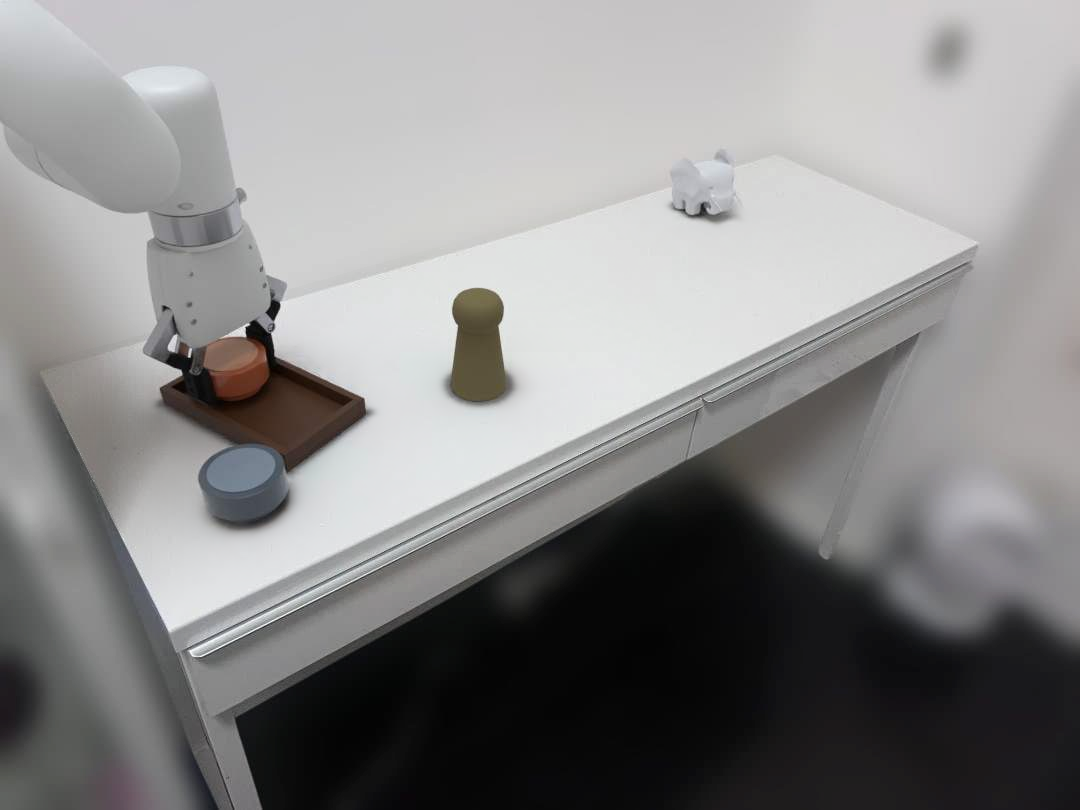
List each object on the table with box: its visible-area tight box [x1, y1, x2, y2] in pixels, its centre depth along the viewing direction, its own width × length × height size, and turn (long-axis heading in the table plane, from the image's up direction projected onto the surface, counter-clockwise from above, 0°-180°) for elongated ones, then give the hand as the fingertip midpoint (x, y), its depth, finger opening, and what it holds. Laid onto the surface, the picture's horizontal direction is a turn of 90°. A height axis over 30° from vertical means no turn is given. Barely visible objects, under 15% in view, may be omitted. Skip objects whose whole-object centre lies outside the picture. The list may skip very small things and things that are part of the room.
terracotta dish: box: [203, 336, 270, 401], centre depth 81 cm, size 7×7×4 cm
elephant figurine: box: [668, 146, 743, 216], centre depth 122 cm, size 10×12×9 cm
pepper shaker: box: [449, 287, 507, 403], centre depth 83 cm, size 6×6×11 cm
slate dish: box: [197, 444, 289, 524], centre depth 70 cm, size 7×7×4 cm
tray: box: [158, 356, 367, 472], centre depth 81 cm, size 11×18×2 cm, turn 57°
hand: (234, 379), depth 82 cm, fingers closed on terracotta dish, 7 cm apart
